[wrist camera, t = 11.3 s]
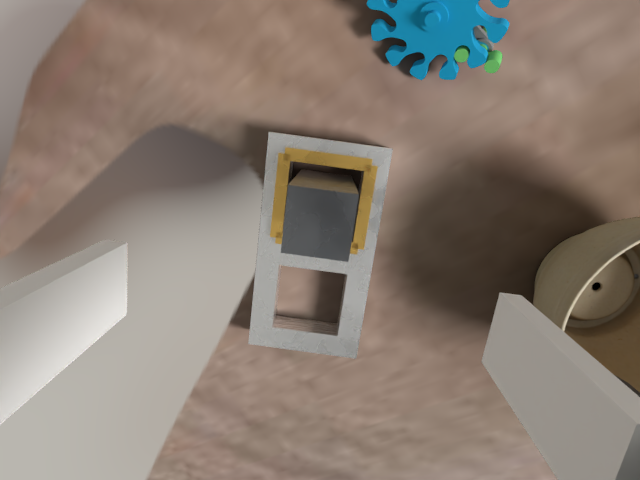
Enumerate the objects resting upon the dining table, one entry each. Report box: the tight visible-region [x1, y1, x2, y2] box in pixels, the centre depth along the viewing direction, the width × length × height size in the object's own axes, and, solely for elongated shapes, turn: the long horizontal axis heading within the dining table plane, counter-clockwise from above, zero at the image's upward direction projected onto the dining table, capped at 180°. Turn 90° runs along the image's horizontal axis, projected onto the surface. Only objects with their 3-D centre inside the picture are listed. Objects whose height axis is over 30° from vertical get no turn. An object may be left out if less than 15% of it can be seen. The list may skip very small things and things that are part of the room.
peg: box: [281, 169, 359, 262], centre depth 31 cm, size 4×4×11 cm
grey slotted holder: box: [248, 132, 393, 358], centre depth 36 cm, size 19×10×3 cm, turn 173°
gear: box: [367, 0, 509, 80], centre depth 30 cm, size 11×6×10 cm
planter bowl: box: [533, 217, 640, 392], centre depth 32 cm, size 16×16×11 cm
